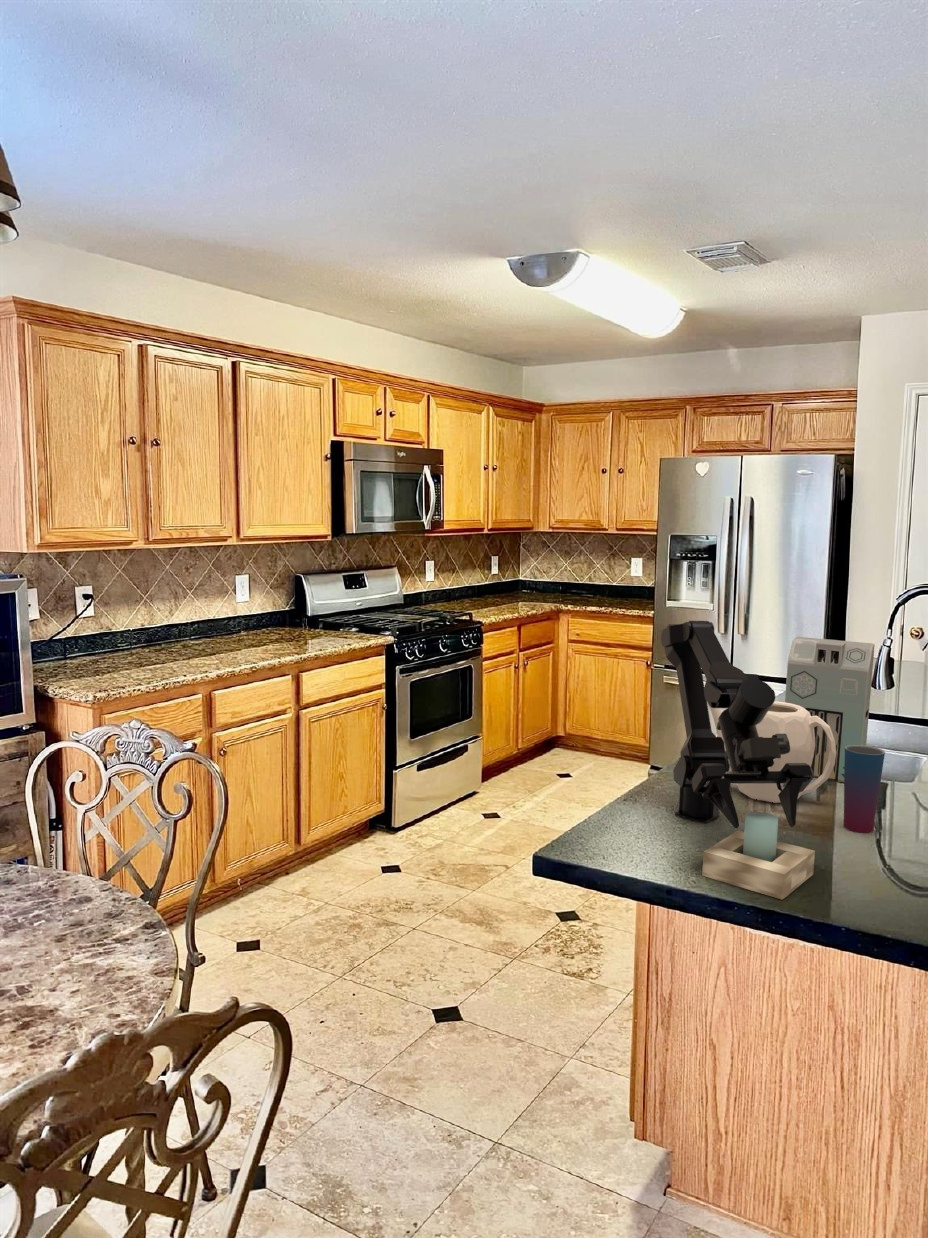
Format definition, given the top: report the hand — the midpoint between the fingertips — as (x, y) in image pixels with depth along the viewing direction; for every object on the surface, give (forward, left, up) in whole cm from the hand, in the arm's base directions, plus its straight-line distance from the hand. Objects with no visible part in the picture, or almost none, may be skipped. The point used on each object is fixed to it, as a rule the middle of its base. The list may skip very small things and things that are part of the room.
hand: (765, 826), depth 144 cm
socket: (-1, +1, -9) cm, 9 cm away
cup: (+4, +35, -9) cm, 37 cm away
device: (-13, +65, -9) cm, 67 cm away
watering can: (-17, +42, -9) cm, 47 cm away
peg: (-1, +1, -8) cm, 8 cm away
